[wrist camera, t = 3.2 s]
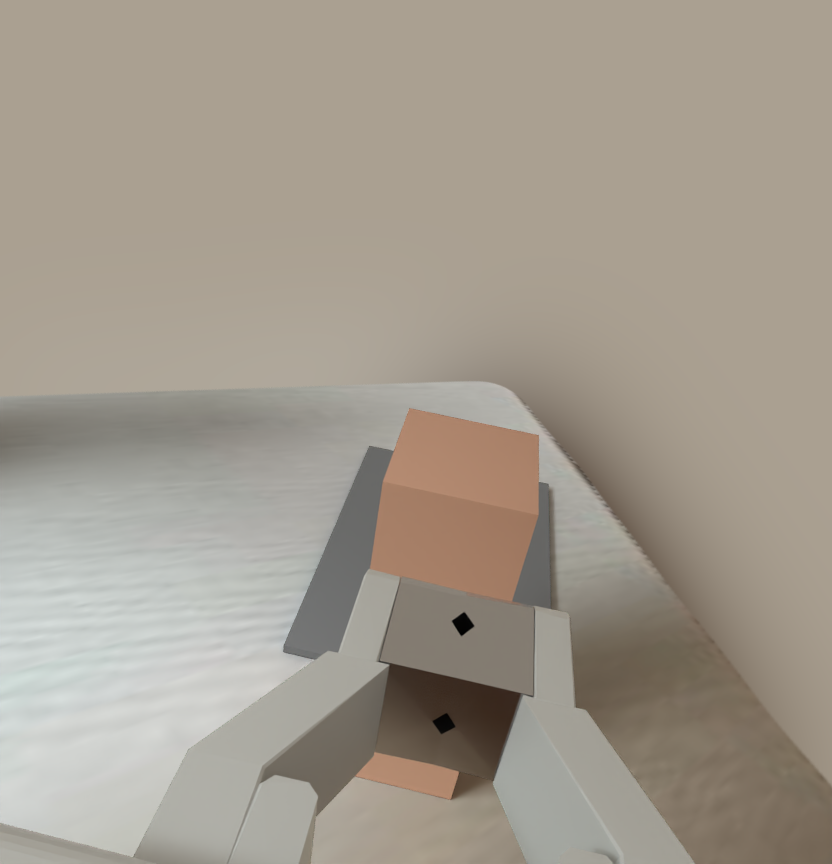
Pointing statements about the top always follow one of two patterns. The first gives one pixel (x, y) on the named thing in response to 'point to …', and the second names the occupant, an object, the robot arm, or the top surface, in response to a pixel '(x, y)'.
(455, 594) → the robot arm
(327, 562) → the charcoal mat
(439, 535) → the terracotta block
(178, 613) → the top surface
